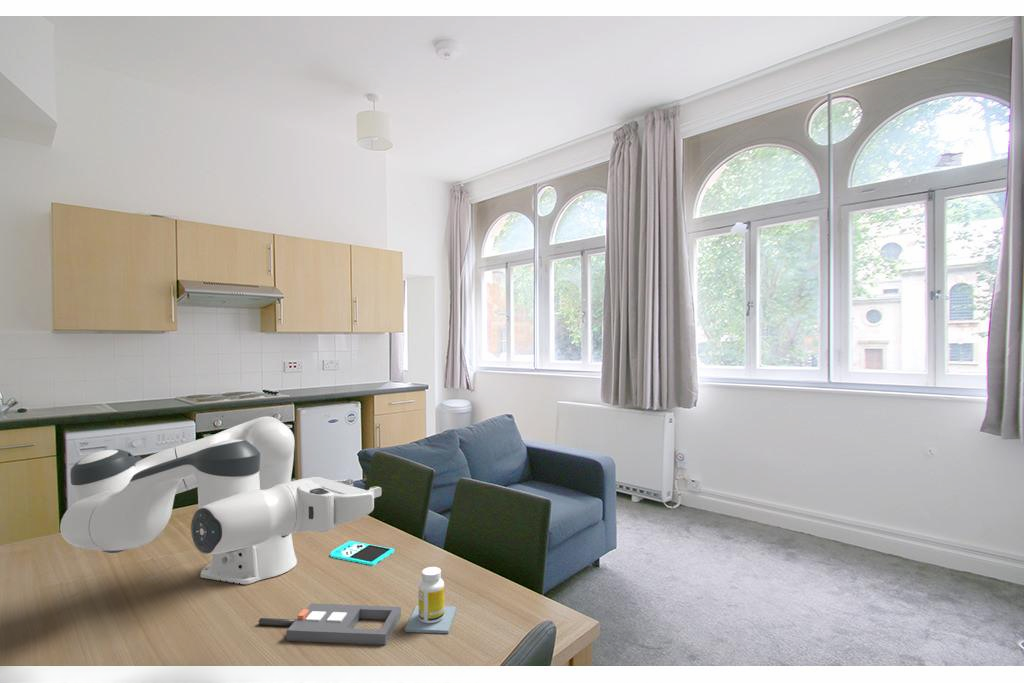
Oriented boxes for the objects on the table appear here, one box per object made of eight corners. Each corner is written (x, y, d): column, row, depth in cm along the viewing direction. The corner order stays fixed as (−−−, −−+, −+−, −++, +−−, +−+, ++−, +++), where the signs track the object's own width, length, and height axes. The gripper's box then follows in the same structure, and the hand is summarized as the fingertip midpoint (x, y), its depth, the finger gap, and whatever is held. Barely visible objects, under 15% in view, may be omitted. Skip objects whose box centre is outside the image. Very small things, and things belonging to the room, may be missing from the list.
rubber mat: (404, 631, 98) (404, 628, 98) (416, 607, 107) (416, 605, 107) (448, 633, 98) (448, 630, 98) (456, 609, 107) (456, 606, 107)
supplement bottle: (448, 612, 104) (448, 567, 104) (436, 626, 99) (436, 578, 99) (426, 608, 106) (426, 563, 106) (413, 621, 101) (413, 574, 101)
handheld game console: (350, 544, 143) (350, 539, 143) (395, 552, 137) (395, 547, 137) (325, 558, 134) (325, 553, 134) (373, 568, 128) (373, 562, 128)
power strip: (245, 638, 96) (245, 624, 96) (273, 611, 106) (273, 598, 106) (385, 644, 94) (385, 630, 94) (400, 616, 104) (401, 603, 104)
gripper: (272, 510, 94) (336, 493, 104) (330, 534, 81) (396, 511, 92) (271, 478, 94) (335, 464, 105) (330, 497, 81) (396, 478, 92)
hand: (365, 486), depth 98 cm, fingers open, 8 cm apart
